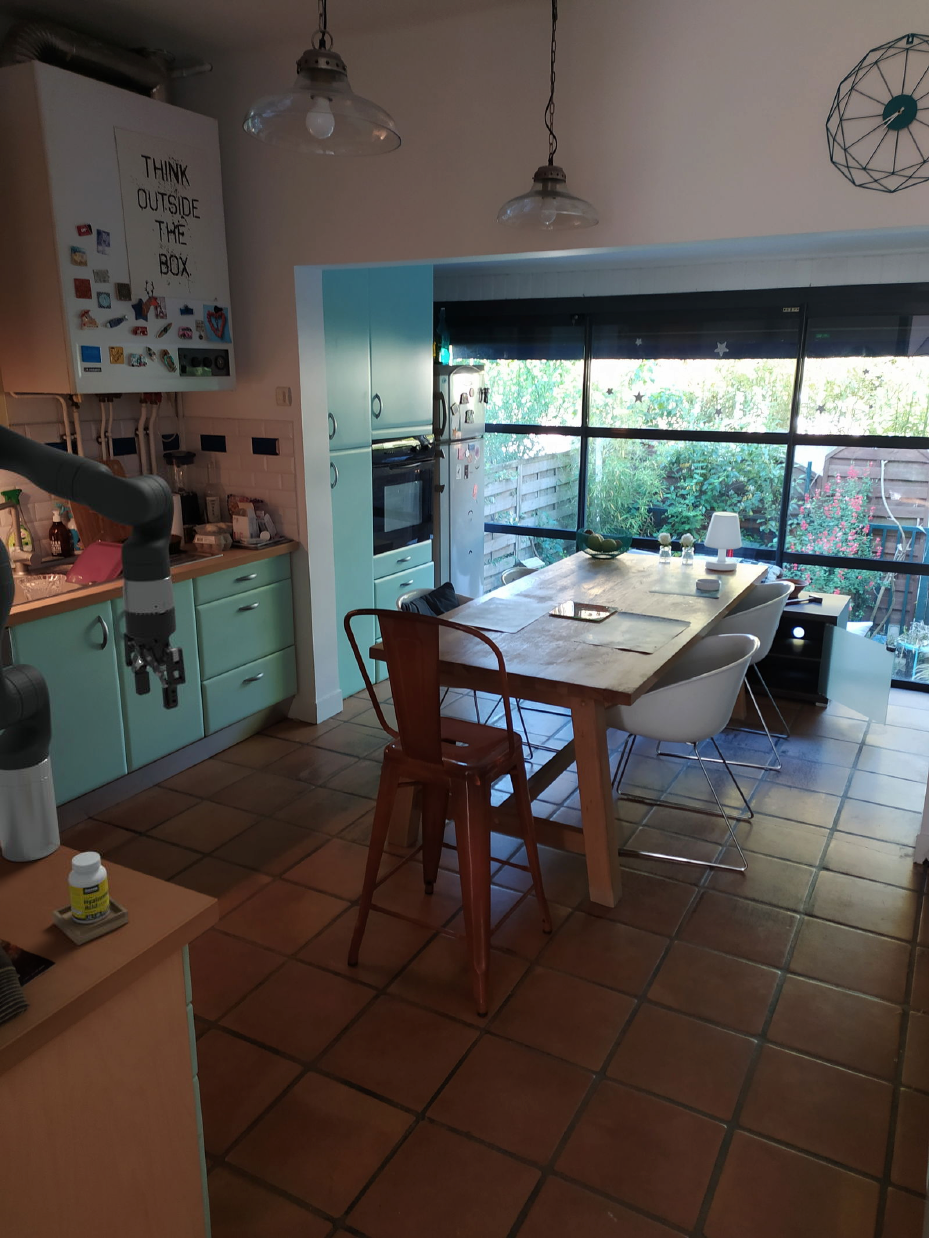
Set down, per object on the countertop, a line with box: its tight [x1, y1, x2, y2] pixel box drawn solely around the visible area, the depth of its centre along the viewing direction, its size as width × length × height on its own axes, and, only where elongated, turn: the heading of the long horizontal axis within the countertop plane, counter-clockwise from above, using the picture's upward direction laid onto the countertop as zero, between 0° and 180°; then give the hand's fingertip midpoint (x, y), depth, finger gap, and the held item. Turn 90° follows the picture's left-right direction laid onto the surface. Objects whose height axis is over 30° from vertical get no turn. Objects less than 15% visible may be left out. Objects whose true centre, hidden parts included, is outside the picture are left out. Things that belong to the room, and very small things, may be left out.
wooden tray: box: [52, 895, 130, 946], centre depth 140 cm, size 8×8×2 cm
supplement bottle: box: [67, 851, 110, 924], centre depth 139 cm, size 5×5×10 cm
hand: (157, 700), depth 148 cm, fingers open, 8 cm apart
